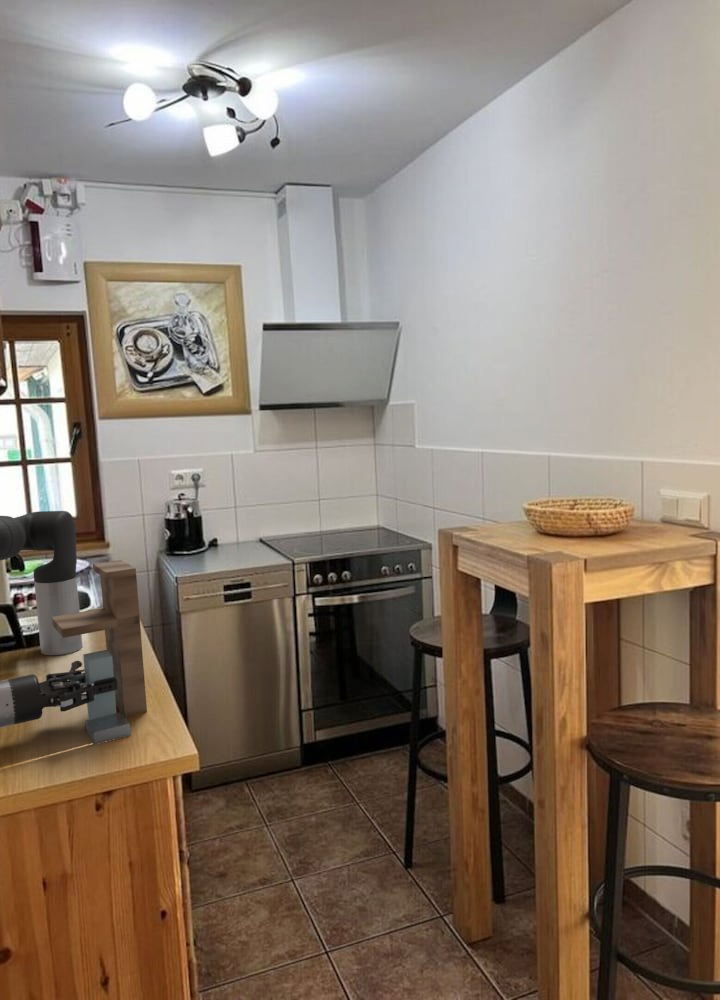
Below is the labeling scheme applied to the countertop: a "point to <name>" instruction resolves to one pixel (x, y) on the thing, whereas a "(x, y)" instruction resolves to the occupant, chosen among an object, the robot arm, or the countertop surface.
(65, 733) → the countertop surface
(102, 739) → the grey square block
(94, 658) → the block
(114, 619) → the brown tall blocky piece
